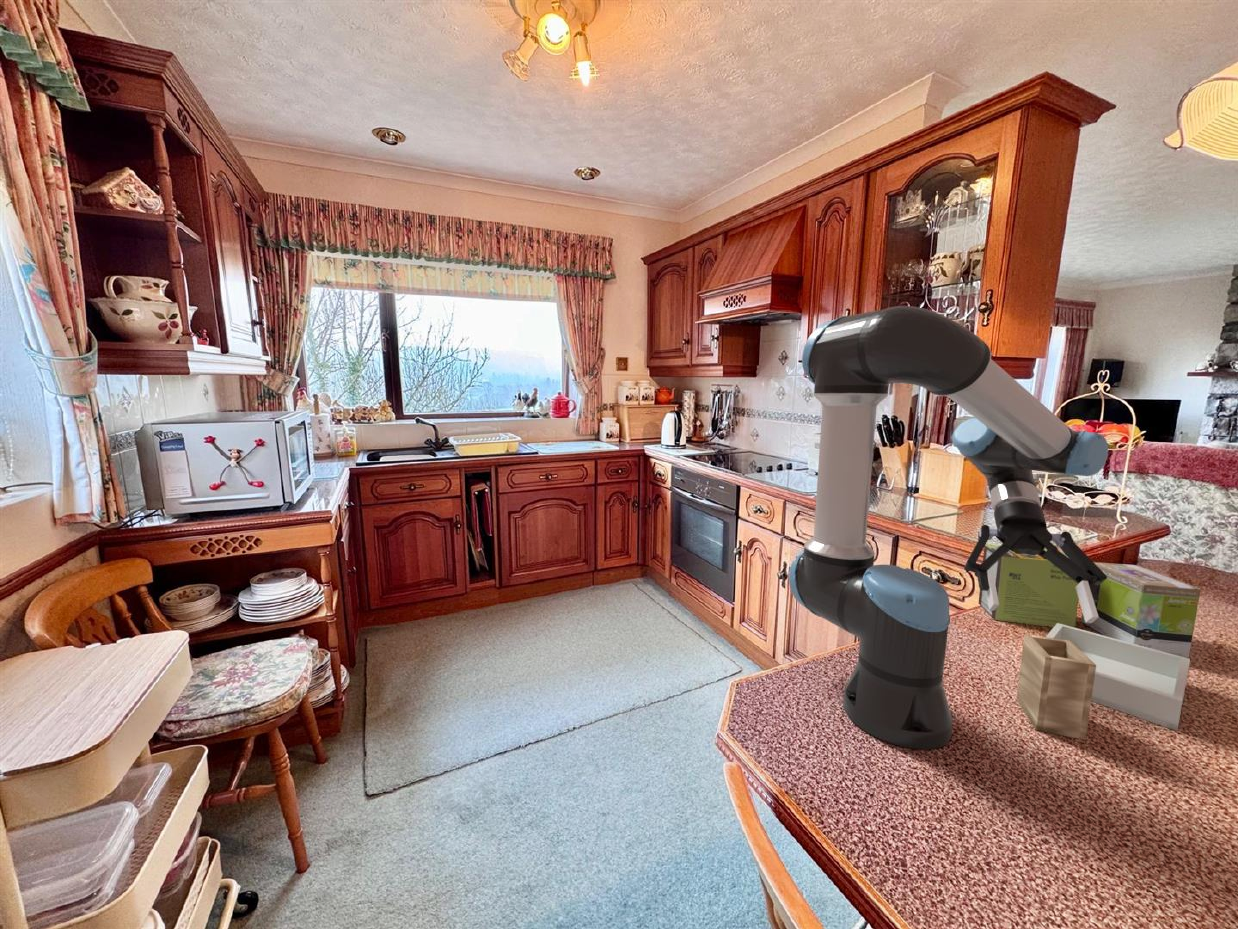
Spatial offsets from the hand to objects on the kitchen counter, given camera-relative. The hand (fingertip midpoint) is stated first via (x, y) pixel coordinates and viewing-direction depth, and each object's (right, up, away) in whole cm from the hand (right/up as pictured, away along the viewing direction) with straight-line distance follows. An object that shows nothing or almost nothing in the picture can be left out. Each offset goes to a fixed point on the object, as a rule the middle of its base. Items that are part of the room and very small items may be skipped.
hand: (1041, 613), depth 84 cm
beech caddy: (-4, -15, -6) cm, 17 cm away
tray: (+16, -14, +4) cm, 21 cm away
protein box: (+23, -10, +32) cm, 41 cm away
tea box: (+37, -12, +21) cm, 44 cm away
